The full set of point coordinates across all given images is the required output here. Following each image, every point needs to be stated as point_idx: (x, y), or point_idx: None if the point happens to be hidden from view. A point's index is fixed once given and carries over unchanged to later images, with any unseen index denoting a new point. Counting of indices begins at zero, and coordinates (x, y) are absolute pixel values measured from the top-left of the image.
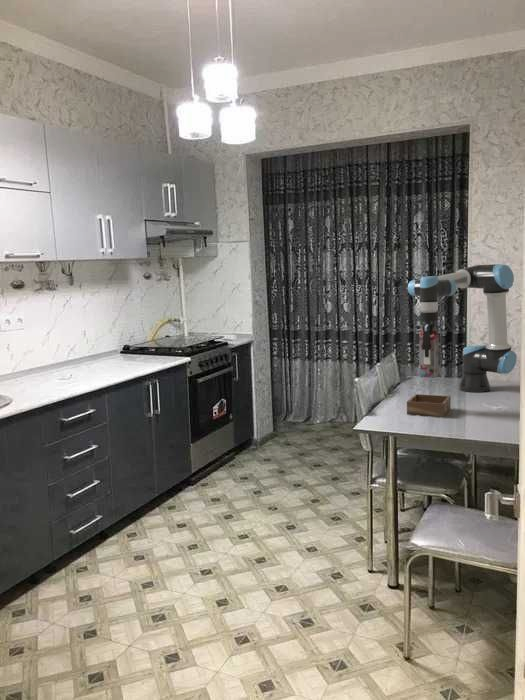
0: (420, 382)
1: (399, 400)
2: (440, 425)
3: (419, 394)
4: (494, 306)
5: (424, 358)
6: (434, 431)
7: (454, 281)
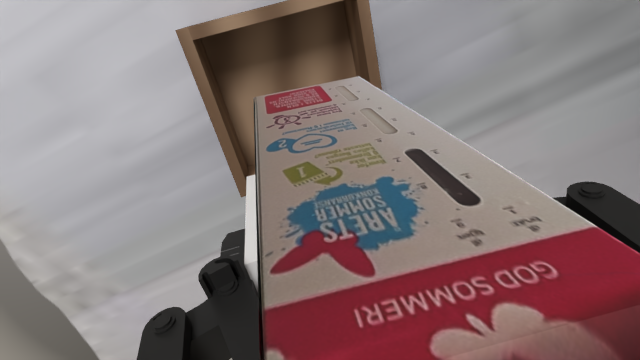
0: None
1: None
2: (141, 210)
3: (366, 7)
4: None
5: (247, 208)
6: (57, 230)
7: None
